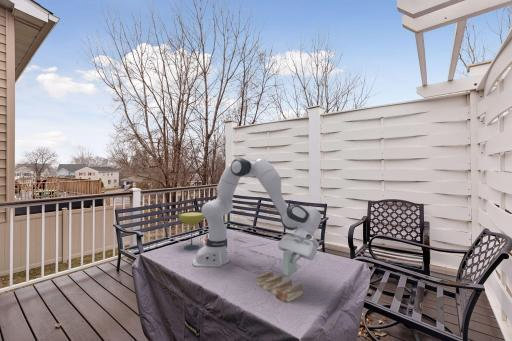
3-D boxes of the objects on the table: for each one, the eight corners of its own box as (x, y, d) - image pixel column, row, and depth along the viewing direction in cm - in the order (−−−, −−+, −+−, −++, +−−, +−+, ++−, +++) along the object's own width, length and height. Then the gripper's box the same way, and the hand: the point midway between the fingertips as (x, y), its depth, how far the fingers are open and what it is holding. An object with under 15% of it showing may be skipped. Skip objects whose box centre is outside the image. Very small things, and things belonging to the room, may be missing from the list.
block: (283, 273, 117) (283, 252, 116) (291, 270, 121) (291, 249, 120) (287, 275, 114) (288, 254, 114) (296, 272, 118) (296, 251, 118)
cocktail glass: (176, 245, 187) (177, 212, 186) (201, 242, 194) (201, 210, 194) (180, 253, 170) (180, 216, 170) (206, 249, 178) (207, 214, 177)
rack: (255, 285, 126) (255, 276, 126) (270, 279, 134) (271, 270, 134) (286, 303, 110) (286, 293, 110) (302, 294, 118) (302, 285, 118)
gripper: (283, 229, 130) (269, 252, 123) (316, 238, 114) (303, 264, 108) (289, 236, 133) (276, 259, 126) (322, 245, 117) (309, 272, 111)
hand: (288, 261), depth 117 cm, fingers closed on block, 3 cm apart
